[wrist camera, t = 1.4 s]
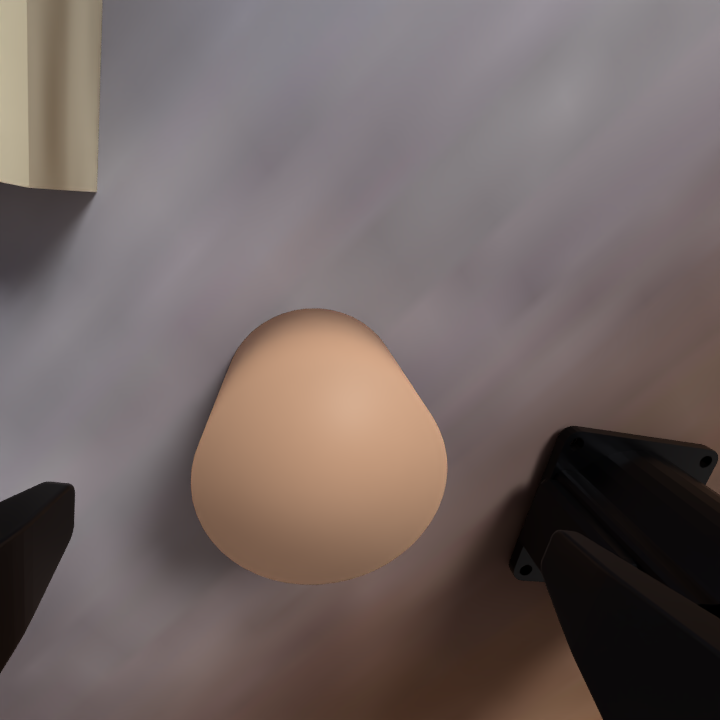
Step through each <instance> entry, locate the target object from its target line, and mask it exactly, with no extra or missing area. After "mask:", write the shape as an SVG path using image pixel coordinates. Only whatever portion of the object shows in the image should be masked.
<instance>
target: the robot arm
mask: <svg viewBox="0 0 720 720" xmlns="http://www.w3.org/2000/svg"><path fill="white" fill-rule="evenodd" d="M575 438H577V440H576V441H575V443H573V444H571V442H572V441H573V440H574V439H575ZM570 444H571V445H570ZM717 461H718V454H717V453H716V452H715V451H714V450H712V449H710V448H709V447H707V446H705V445H702V444H695V443H688V442H681V441H674V440H668V439H661V438H654V437H647V436H640V435H633V434H626V433H620V432H613V431H606V430H599V429H592V428H585V427H579V426H570V427H567V428H565V429H564V430H563V431H562V432H561V433H560V434H559V436H558V438H557V441H556V443H555V446H554V449H553V451H552V454H551V456H550V459H549V461H548V464H547V466H546V469H545V472H544V474H543V477H542V479H541V482H540V484H539V487H538V490H537V492H536V495H535V497H534V500H533V502H532V505H531V508H530V510H529V513H528V515H527V518H526V520H525V523H524V526H523V528H522V531H521V533H520V536H519V538H518V541H517V543H516V546H515V549H514V551H513V554H512V556H511V559H510V561H509V567H510V570H511V571H512V573H513V575H514V576H515V577H516V578H517V579H518V580H523V581H539V582H545V584H546V587H547V589H548V592H549V595H550V597H551V600H552V603H553V605H554V608H555V611H556V613H557V616H558V619H559V621H560V624H561V627H562V629H563V632H564V635H565V637H566V640H567V642H568V645H569V647H570V650H571V652H572V654H573V657H574V659H575V661H576V663H577V666H578V668H579V670H580V672H581V674H582V676H583V678H584V680H585V682H586V685H587V687H588V689H589V691H590V693H591V695H592V697H593V699H594V701H595V704H596V706H597V708H598V710H599V712H600V714H601V716H602V718H603V720H720V495H719V494H717V493H716V492H714V491H713V490H712V489H710V488H709V487H707V486H706V483H707V481H708V479H709V477H710V475H711V473H712V471H713V469H714V467H715V465H716V464H717ZM74 509H75V490H74V487H73V486H72V485H71V484H69V483H59V482H43V483H41V484H38V485H36V486H34V487H32V488H30V489H27V490H25V491H23V492H21V493H19V494H17V495H14V496H12V497H10V498H8V499H6V500H3V501H1V502H0V673H1V671H2V670H3V668H4V666H5V665H6V663H7V662H8V660H9V658H10V657H11V655H12V653H13V652H14V650H15V649H16V647H17V645H18V643H19V642H20V640H21V638H22V637H23V635H24V633H25V631H26V629H27V627H28V625H29V623H30V621H31V620H32V618H33V616H34V613H35V611H36V609H37V607H38V605H39V603H40V601H41V599H42V597H43V595H44V593H45V591H46V589H47V587H48V585H49V583H50V580H51V578H52V576H53V574H54V572H55V570H56V568H57V566H58V564H59V562H60V560H61V558H62V556H63V554H64V552H65V549H66V547H67V545H68V543H69V541H70V539H71V536H72V533H73V529H74ZM524 565H525V566H524Z"/></svg>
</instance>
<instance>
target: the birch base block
mask: <svg viewBox="0 0 720 720" xmlns="http://www.w3.org/2000/svg"><path fill="white" fill-rule="evenodd" d="M101 33H102V0H0V182H3V183H8V184H13V185H18V186H23V187H28V188H40V189H55V190H70V191H85V192H97V169H98V135H99V101H100V67H101Z"/></svg>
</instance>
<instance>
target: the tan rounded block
mask: <svg viewBox="0 0 720 720" xmlns="http://www.w3.org/2000/svg"><path fill="white" fill-rule="evenodd" d="M446 478H447V455H446V450H445V445H444V441H443V438H442V436H441V433H440V430H439V428H438V426H437V424H436V422H435V421H434V419H433V417H432V415H431V414H430V412H429V411H428V409H427V408H426V406H425V405H424V403H423V402H422V400H421V399H420V397H419V396H418V394H417V393H416V391H415V390H414V388H413V386H412V385H411V383H410V382H409V380H408V379H407V377H406V376H405V374H404V373H403V371H402V370H401V368H400V367H399V365H398V364H397V362H396V361H395V359H394V358H393V356H392V355H391V353H390V352H389V350H388V349H387V347H386V346H385V344H384V343H383V342H382V340H381V339H380V338H379V336H378V335H377V334H376V333H374V332H373V331H372V330H371V329H370V328H369V327H368V326H366V325H365V324H364V323H362V322H360V321H359V320H357V319H355V318H353V317H351V316H349V315H346V314H344V313H341V312H337V311H333V310H327V309H301V310H294V311H291V312H287V313H283V314H281V315H278V316H276V317H274V318H272V319H270V320H268V321H266V322H265V323H263V324H261V325H260V326H259V327H257V328H256V329H255V330H254V331H252V332H251V333H250V334H249V335H248V336H247V338H246V339H245V340H244V341H243V342H242V344H241V345H240V346H239V348H238V349H237V351H236V353H235V355H234V356H233V358H232V361H231V363H230V366H229V368H228V371H227V373H226V376H225V378H224V381H223V383H222V386H221V389H220V391H219V394H218V396H217V399H216V401H215V404H214V406H213V409H212V411H211V414H210V416H209V419H208V422H207V424H206V427H205V429H204V432H203V434H202V437H201V439H200V442H199V445H198V447H197V450H196V453H195V455H194V460H193V465H192V470H191V492H192V500H193V504H194V507H195V511H196V514H197V517H198V519H199V521H200V523H201V525H202V527H203V529H204V531H205V532H206V534H207V535H208V537H209V538H210V540H211V541H212V542H213V543H214V544H215V545H216V546H217V547H218V549H219V550H220V551H221V552H222V553H224V554H225V555H226V556H227V557H228V558H230V559H231V560H232V561H234V562H235V563H237V564H238V565H240V566H241V567H243V568H245V569H247V570H249V571H251V572H253V573H255V574H257V575H260V576H263V577H266V578H269V579H272V580H276V581H280V582H285V583H292V584H302V585H319V584H329V583H336V582H341V581H346V580H350V579H353V578H356V577H359V576H363V575H365V574H367V573H370V572H372V571H374V570H377V569H378V568H380V567H382V566H384V565H386V564H388V563H389V562H391V561H392V560H394V559H395V558H397V557H398V556H399V555H401V554H402V553H403V552H404V551H406V550H407V549H408V548H409V547H410V546H411V545H413V543H414V542H415V541H416V540H417V539H418V538H419V537H420V536H421V535H422V534H423V532H424V531H425V529H426V528H427V527H428V525H429V524H430V523H431V521H432V519H433V517H434V515H435V514H436V512H437V510H438V508H439V505H440V502H441V500H442V497H443V494H444V489H445V485H446Z"/></svg>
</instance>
